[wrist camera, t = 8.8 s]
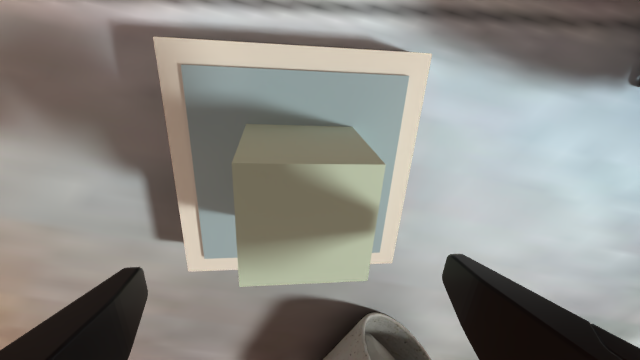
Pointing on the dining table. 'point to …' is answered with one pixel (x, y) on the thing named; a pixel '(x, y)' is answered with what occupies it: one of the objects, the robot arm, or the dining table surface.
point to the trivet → (280, 123)
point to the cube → (304, 204)
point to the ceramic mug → (378, 341)
